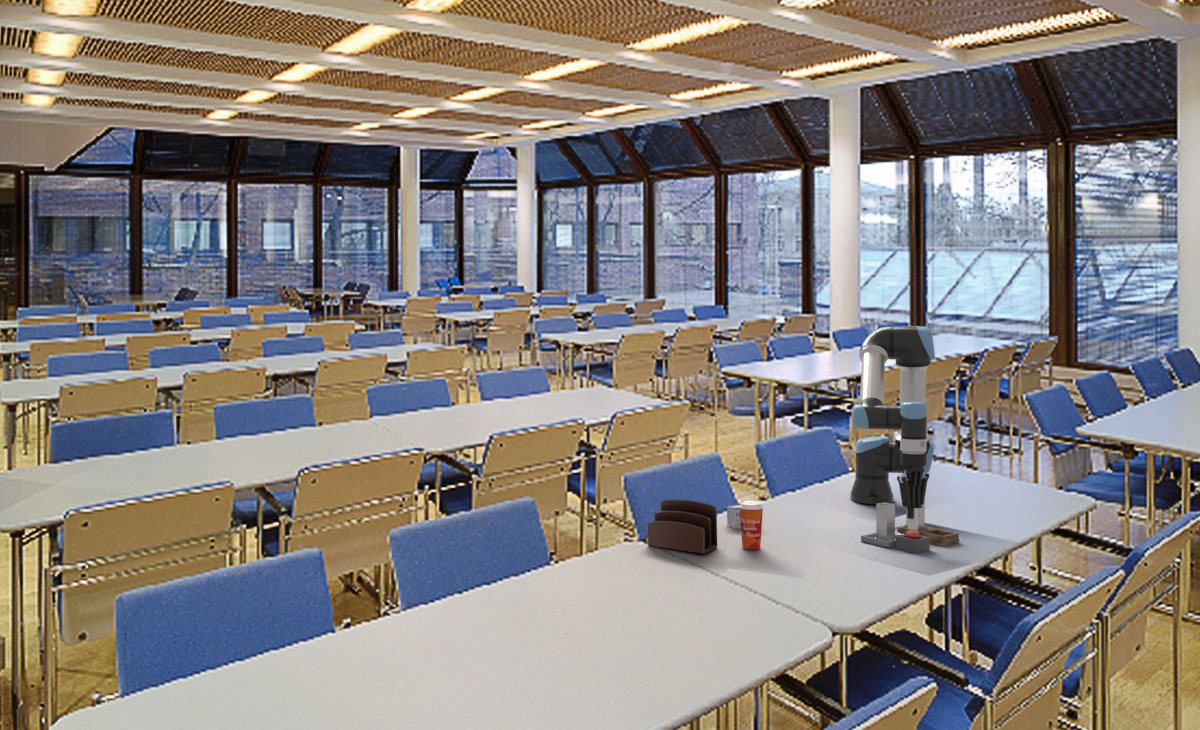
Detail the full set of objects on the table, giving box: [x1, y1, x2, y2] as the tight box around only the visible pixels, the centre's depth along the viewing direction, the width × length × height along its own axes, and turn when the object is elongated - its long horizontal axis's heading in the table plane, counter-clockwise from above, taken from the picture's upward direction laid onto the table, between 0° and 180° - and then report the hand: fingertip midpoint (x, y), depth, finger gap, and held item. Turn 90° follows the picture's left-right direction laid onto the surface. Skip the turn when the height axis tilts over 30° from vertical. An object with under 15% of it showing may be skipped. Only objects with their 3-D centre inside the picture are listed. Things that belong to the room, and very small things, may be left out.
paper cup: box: [738, 500, 765, 550], centre depth 269 cm, size 8×8×14 cm
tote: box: [860, 532, 899, 549], centre depth 273 cm, size 11×11×2 cm
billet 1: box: [875, 502, 896, 542], centre depth 273 cm, size 4×4×12 cm
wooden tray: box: [896, 524, 961, 548], centre depth 277 cm, size 17×9×3 cm, turn 34°
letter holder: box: [647, 499, 718, 555], centre depth 271 cm, size 10×20×14 cm, turn 58°
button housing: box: [895, 534, 931, 555], centre depth 264 cm, size 7×7×4 cm
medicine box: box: [726, 504, 741, 529], centre depth 290 cm, size 8×4×9 cm, turn 117°
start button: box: [907, 531, 919, 538], centre depth 264 cm, size 4×4×2 cm
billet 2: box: [905, 500, 926, 530], centre depth 281 cm, size 4×4×12 cm
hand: (912, 528), depth 264 cm, fingers closed
